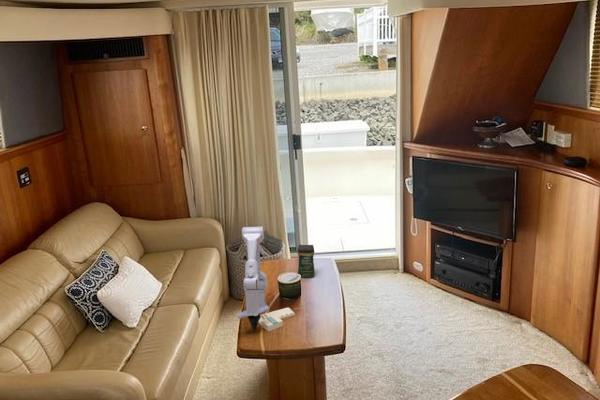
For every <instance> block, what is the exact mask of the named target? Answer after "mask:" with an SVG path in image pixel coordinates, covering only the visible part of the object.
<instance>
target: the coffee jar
mask: <svg viewBox="0 0 600 400" xmlns="http://www.w3.org/2000/svg"><path fill="white" fill-rule="evenodd" d="M314 255H315V247H314V244H298V247H297V256H298V265H297V266H298V267H297V275H298V274H300V275H301V277H302V278H304V279H305V278H306V279H308V278H310V279H311V278H313V277H315V275H316V273H315V263H314ZM301 277H300V278H301Z"/></svg>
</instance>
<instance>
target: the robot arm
mask: <svg viewBox="0 0 600 400" xmlns="http://www.w3.org/2000/svg"><path fill="white" fill-rule="evenodd" d="M264 235H265V233H264V227H263V225H262V226H243V227H242V229H241V238H242V240H243V243H244V244H246V248H247V249H246V250H247V261H245V263H244V264H245V265H244V278H243V290H244V294H245V305H246V309H245V310H243V311H241V312H239V313H237V315H236V316H237V319H238V320H242V318H247V319H248V320H249V322H250V325H251V329H252V330H253V331H256V330H257V327H258V324H259V323H258V321H259V319H260V315H261V313H262V314H264V313H265V312H266V313H269V312H270V308H269V305H268V304H267V303H266V290H267V289H268V279H267V278H268V277H267V273H266V272H264V271H262V270H261V254H260V252H261V251H260V243H261V244H262V241H264V239H265V236H264Z"/></svg>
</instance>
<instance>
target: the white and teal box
mask: <svg viewBox="0 0 600 400" xmlns="http://www.w3.org/2000/svg"><path fill="white" fill-rule="evenodd" d="M261 323H262V324H261V327H262V328H264V329H265V330H266V331H267V332H271V331H273V330H276V329H279V328H283V326H284V320H282V319H280V318H278V317H277V316H274V317H268V318H267V319H266V320H263V321H261Z"/></svg>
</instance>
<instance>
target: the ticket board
mask: <svg viewBox="0 0 600 400" xmlns="http://www.w3.org/2000/svg"><path fill="white" fill-rule="evenodd" d="M274 316H277V317H278V318H280V319H281V320H282V319H287V318H289V317H293V316H296V313H295V312H294V311H293V310H292V309H291V308H290V307H284V308H281V309H277V310H273V311H269V312H266V313H265V312H264V313H262V314H261V313H260V319H259V321H258V324H259V325H261V326H262V323H261V321H263V320H266V319H267V318H268V317H274Z"/></svg>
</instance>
